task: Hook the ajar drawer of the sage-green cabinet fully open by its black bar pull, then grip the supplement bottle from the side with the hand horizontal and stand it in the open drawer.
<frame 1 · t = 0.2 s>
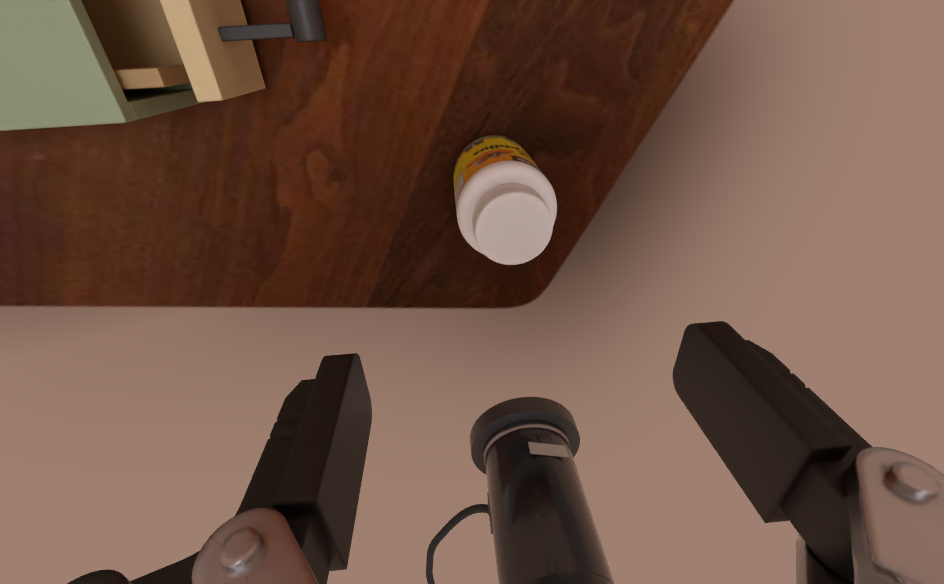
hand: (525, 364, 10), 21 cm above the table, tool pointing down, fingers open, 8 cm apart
supplement bottle: (491, 173, 29), on the table
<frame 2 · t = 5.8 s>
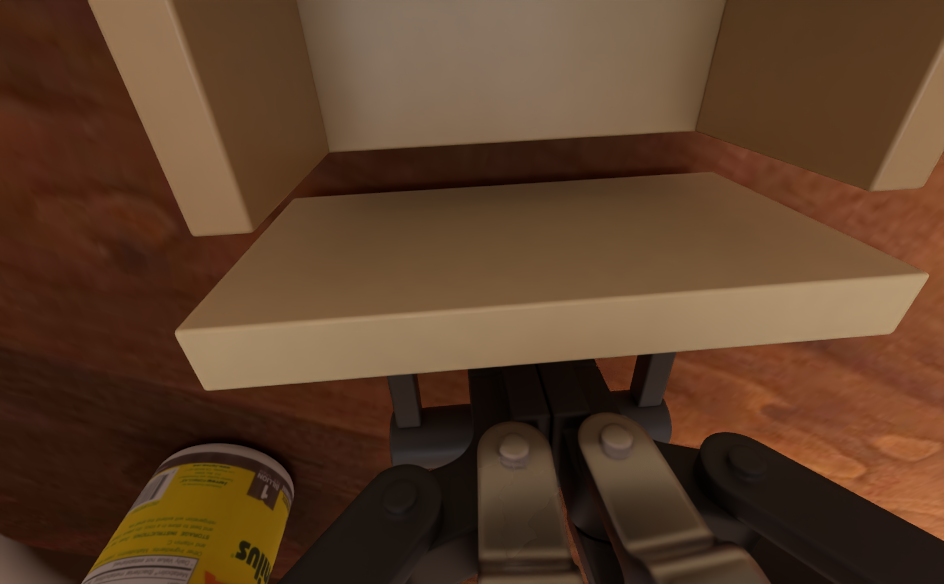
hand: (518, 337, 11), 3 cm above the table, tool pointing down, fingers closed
drawer: (535, 54, 7), point 4 cm above the table, slide at 5.1 cm, touching gripper
supplement bottle: (234, 473, 18), on the table
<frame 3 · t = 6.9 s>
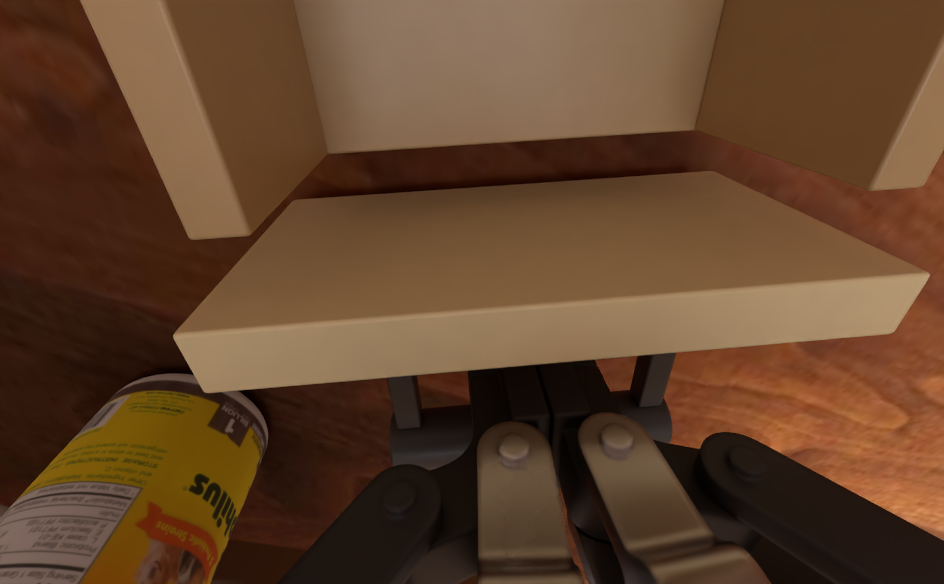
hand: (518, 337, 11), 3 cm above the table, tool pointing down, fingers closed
drawer: (533, 55, 7), point 4 cm above the table, slide at 9.0 cm, touching gripper
supplement bottle: (201, 413, 16), on the table
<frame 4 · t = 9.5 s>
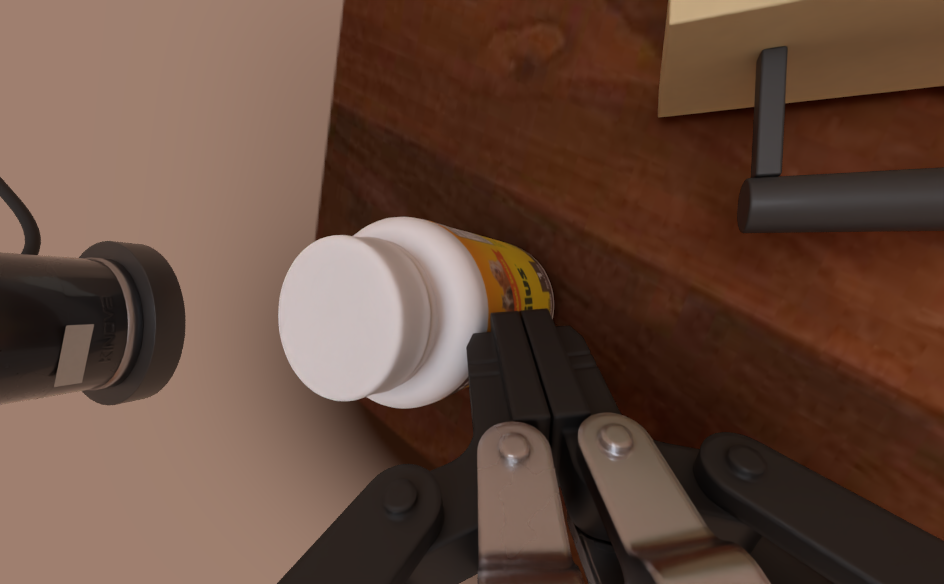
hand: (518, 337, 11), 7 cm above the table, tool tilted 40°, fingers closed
supplement bottle: (501, 302, 19), on the table
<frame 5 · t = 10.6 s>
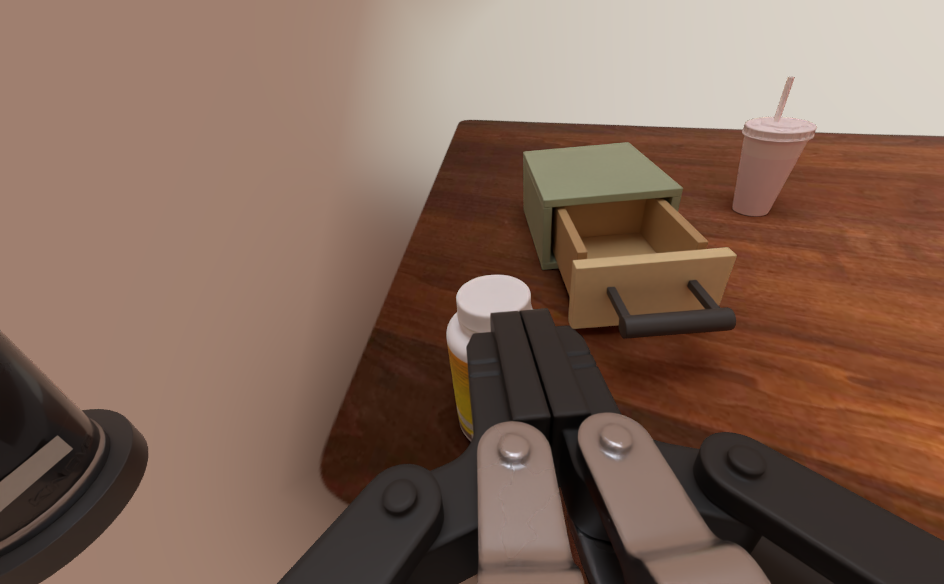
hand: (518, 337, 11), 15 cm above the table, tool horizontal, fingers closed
smoothie: (749, 210, 48), on the table
drawer: (629, 264, 34), point 4 cm above the table, slide at 9.1 cm
cabinet: (585, 231, 47), on the table
supplement bottle: (501, 421, 27), on the table
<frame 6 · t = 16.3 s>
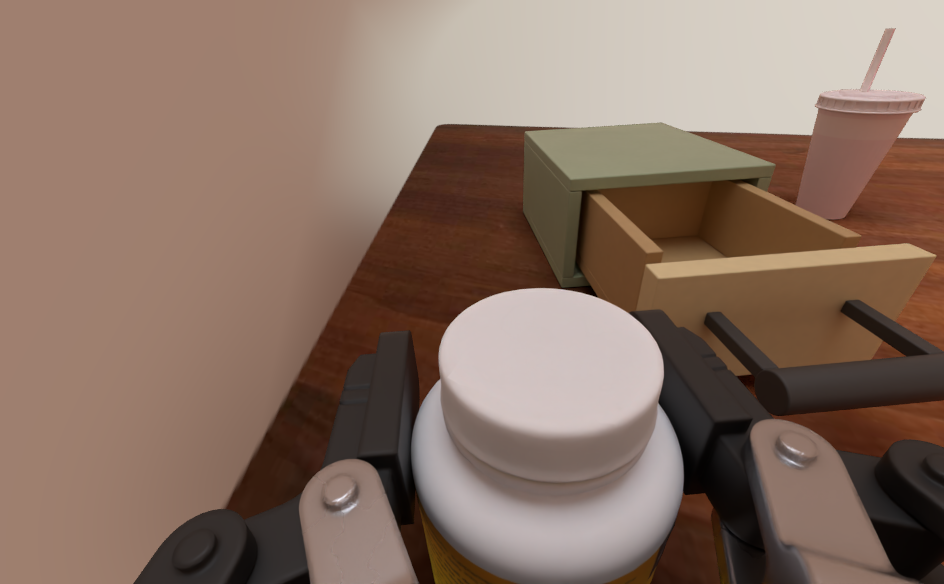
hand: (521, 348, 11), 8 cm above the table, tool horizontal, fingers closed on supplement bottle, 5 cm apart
smoothie: (818, 213, 37), on the table
drawer: (716, 276, 21), point 4 cm above the table, slide at 9.1 cm
cabinet: (612, 237, 34), on the table
when the fingers open (10 cm above the table, at t = 23.8 s): supplement bottle stays where it is, resting on drawer.
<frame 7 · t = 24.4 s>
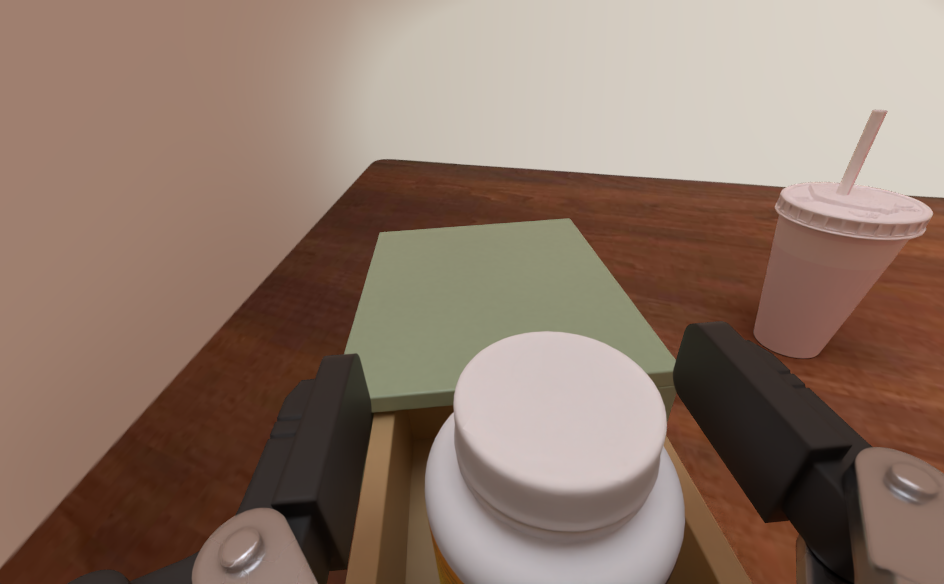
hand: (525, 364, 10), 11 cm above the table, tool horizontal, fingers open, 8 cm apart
smoothie: (784, 342, 27), on the table
cabinet: (490, 388, 24), on the table
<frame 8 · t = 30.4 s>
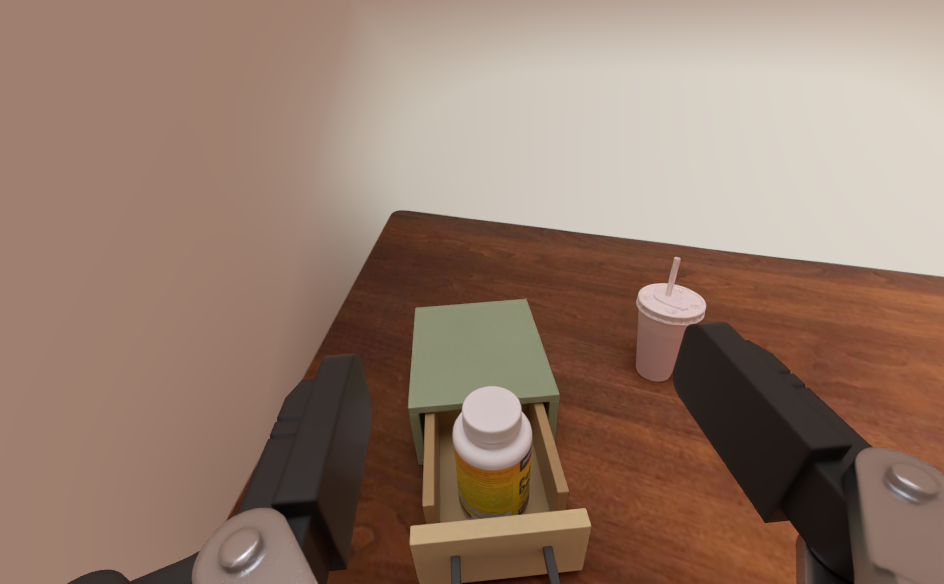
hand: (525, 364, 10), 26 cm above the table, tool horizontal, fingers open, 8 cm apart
smoothie: (652, 371, 46), on the table
drawer: (493, 496, 30), point 4 cm above the table, slide at 9.0 cm, touching supplement bottle
cabinet: (479, 399, 43), on the table
supplement bottle: (494, 497, 32), point 2 cm above the table, touching drawer
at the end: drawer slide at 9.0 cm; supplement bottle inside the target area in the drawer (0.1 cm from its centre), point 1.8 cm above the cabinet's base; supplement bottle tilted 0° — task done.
